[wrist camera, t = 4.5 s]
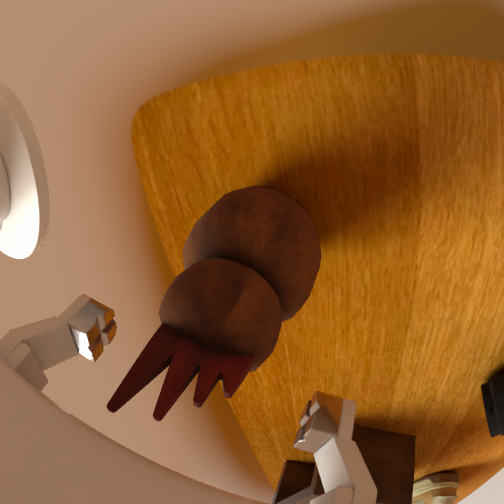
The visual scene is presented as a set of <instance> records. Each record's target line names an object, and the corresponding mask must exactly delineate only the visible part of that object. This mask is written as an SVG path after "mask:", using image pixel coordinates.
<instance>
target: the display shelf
mask: <svg viewBox="0 0 504 504" xmlns="http://www.w3.org/2000/svg"><path fill="white" fill-rule="evenodd" d="M352 441H355V442H356V444H357V447H358V449H359V451H360V453H361V455H362V457H363V460H364V462H365V464H366V466H367V468H368V470H369V473H370V475H371V477H372V479H373V481H374V484H375V486H376V488H377V490H378V491H377V498H376V504H412V497H413V485H414V467H415V436H409V435H402V434H397V433H391V432H385V431H380V430H375V429H370V428H365V427H360V426H356V425H354V426H353V433H352ZM324 493H325V490H324V487H323V484H322V481H321V477H320V474H319V471H318V467H317V464H315V467H313V466H309V465H304V464H300V463H296V462H292V461H288V460H287V461H286V462H285V463H284V465H283V469H282V472H281V476H280V479H279V482H278V486H277V489H276V492H275V496H274V499H273V502H272V504H310V501H311V500H312V499H314V498H316V497H318V496H320V495H322V494H324Z"/></svg>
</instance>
